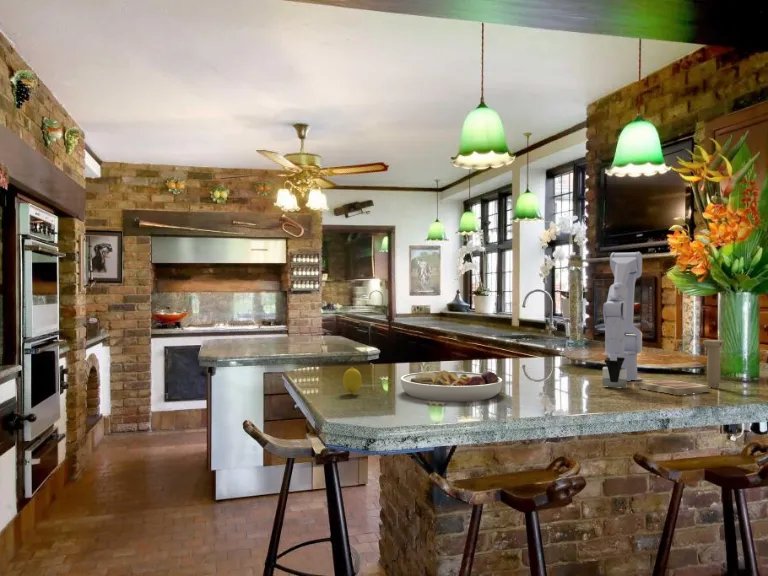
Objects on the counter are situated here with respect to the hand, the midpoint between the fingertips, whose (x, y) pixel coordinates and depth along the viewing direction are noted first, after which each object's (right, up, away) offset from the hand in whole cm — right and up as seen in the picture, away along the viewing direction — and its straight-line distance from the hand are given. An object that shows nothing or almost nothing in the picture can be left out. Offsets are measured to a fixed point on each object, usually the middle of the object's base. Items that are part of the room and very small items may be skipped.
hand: (614, 381), depth 195 cm
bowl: (-54, -2, -13) cm, 56 cm away
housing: (0, -2, 0) cm, 2 cm away
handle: (+31, -2, -1) cm, 31 cm away
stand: (+16, -2, -7) cm, 17 cm away
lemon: (-83, -2, -14) cm, 85 cm away
